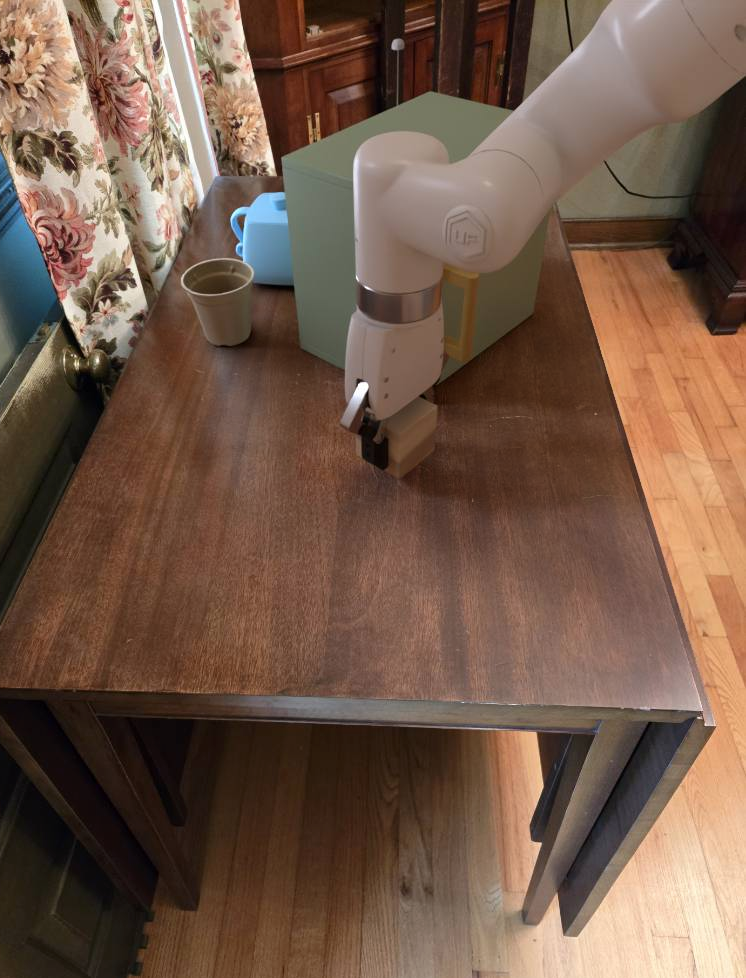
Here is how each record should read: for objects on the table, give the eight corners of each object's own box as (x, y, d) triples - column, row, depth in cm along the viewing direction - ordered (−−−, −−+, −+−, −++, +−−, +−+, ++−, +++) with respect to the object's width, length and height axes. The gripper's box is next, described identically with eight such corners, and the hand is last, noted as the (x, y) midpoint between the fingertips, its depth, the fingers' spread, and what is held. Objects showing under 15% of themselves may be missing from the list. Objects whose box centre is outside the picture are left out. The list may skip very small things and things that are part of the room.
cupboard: (525, 311, 100) (555, 120, 82) (405, 401, 88) (410, 199, 70) (422, 271, 109) (430, 90, 91) (300, 348, 96) (281, 157, 79)
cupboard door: (568, 327, 97) (609, 134, 79) (449, 422, 84) (465, 220, 67) (527, 311, 100) (557, 122, 82) (406, 400, 88) (411, 201, 70)
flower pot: (239, 361, 95) (228, 301, 89) (180, 345, 98) (166, 286, 92) (275, 324, 101) (267, 265, 94) (218, 311, 104) (207, 253, 97)
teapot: (347, 296, 105) (343, 217, 96) (227, 290, 108) (214, 212, 99) (360, 255, 113) (358, 178, 104) (249, 250, 116) (238, 175, 107)
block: (434, 450, 78) (437, 405, 74) (398, 479, 75) (400, 435, 71) (392, 427, 81) (392, 383, 76) (356, 454, 78) (354, 410, 74)
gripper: (426, 243, 70) (419, 395, 83) (299, 318, 62) (314, 473, 75) (490, 267, 66) (472, 422, 80) (365, 350, 58) (368, 507, 72)
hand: (395, 445), depth 77 cm, fingers closed on block, 6 cm apart
